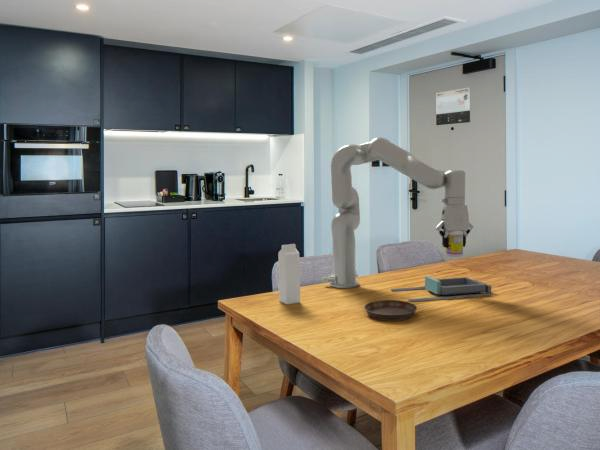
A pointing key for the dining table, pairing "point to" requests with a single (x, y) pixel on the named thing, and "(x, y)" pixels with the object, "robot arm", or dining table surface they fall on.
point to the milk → (289, 274)
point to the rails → (487, 293)
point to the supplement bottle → (454, 244)
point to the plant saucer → (390, 310)
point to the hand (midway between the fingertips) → (454, 246)
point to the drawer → (453, 286)
